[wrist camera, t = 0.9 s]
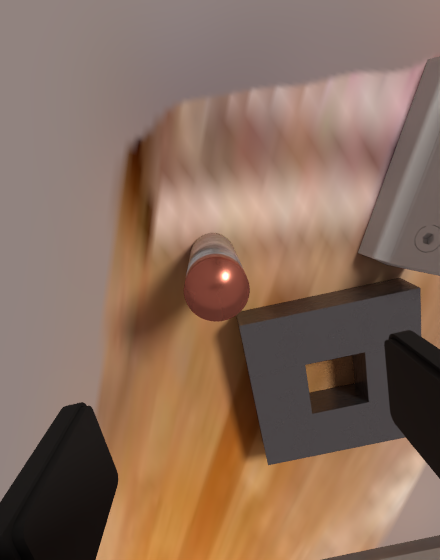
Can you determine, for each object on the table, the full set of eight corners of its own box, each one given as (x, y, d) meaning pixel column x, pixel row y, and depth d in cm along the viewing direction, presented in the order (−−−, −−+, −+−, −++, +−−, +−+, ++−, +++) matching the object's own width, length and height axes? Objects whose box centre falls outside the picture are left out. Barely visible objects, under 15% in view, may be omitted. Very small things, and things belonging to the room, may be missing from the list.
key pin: (185, 238, 28) (176, 267, 19) (229, 228, 28) (243, 252, 19) (196, 280, 30) (192, 327, 20) (238, 271, 30) (254, 314, 20)
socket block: (235, 312, 31) (239, 326, 28) (399, 277, 30) (420, 287, 28) (262, 442, 35) (268, 465, 33) (404, 413, 35) (422, 433, 32)
